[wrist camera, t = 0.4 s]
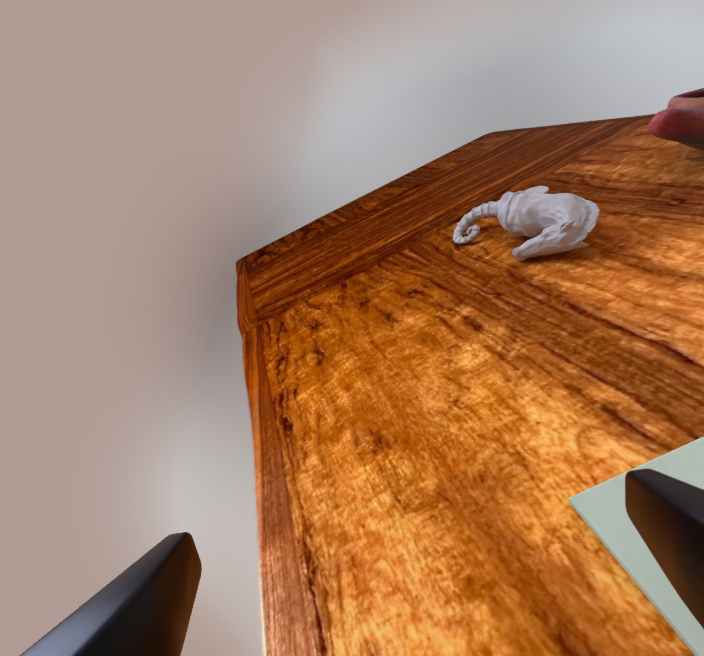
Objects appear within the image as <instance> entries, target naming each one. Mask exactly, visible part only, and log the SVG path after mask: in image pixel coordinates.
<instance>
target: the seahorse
mask: <svg viewBox="0 0 704 656" xmlns="http://www.w3.org/2000/svg"><path fill="white" fill-rule="evenodd" d="M548 190H549V187H545V186H538V187H533V188H530V189H527V190H525V191H518V192H516V193H512V192H507V193H505V194H504V195H503V196H502V198H501V200H499V201H497V202H492V201H490V202H489V203H487V204H485V203H483V204H482V205H481V206H479V207H477V208H473V209H472V211H471V212H469V213H468V214H465V215H464V217H463V218H462V220H461V221H460V222H459V223H457V227H456V229H455V231H454V233H453V240H454V242H455V243H457V244H460V245H461V244H463V243H466V244H467V243H468V242H469V241H471V240H474V239H475V237H476V236H477V235H478V234H480V227H479V226H478V225H474V226H472V223H474V222H478V221H479V220H480V219H481V218H489V217H496V216H498V219H499V221H500V224H501V226H502V227H503V228H504V229H505V230H507V231H508V232H510V233H511V235H512V236H513V237H514V238H518V237H521V236H527V237H533V238H532V239H530V240H527V241H526V242H525V243H524V244H522V245H521V246H520V247H518V248H514V249H513V251H512V253H513V256H514V257H515V258H516V259H518V260H520V261H524V260H525V259H527V258H531V257H535V256H539V255H549V254H552V253H558V252H565V251H570V250H572V249H577V248H581V247H585V246H588V243H584V242H582V241H583V240H584V239H585V238H586V237H587V234H588V233H590V232H591V230H592V229H593V228H594V227H595V225H596V222H597V219H598V217H599V213H600V210H599V208H598V206H597V205H596V204H595V203H593V202H592V201H589V200H588V201H587V200H585V199H583V198H582V197H579V196H576V195H573V194H569V193H564V194H545V193H546V192H547V191H548ZM471 226H472V227H471ZM468 227H470V228H469V229H468V231H467V235H468V236H465V237H463V232H466V230H467V228H468ZM471 231H472V233H471V234H470V232H471Z"/></svg>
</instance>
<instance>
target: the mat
mask: <svg viewBox="0 0 704 656" xmlns="http://www.w3.org/2000/svg"><path fill="white" fill-rule="evenodd" d="M646 468H649V469H653V470H655V471H658V472H660V473H663V474H665V475H668V476H671V477H673V478H676V479H678V480H681V481H683V482H686V483H688V484H691V485H693V486H696V487H698V488H701V489H703V490H704V437H702V438H700V439H697V440H695V441H693V442H691V443H689V444H686V445H684V446H682V447H680V448H678V449H675V450H673V451H671V452H669V453H666V454H664V455H662V456H660V457H658V458H655V459H653V460H651V461H649V462H647V463H644V464H642V465H640V466H638V467H636V468H633V469H631V470H638V469H646ZM631 470H629V471H631ZM629 471H627V472H629ZM627 472H625V473H622V474H620V475H618V476H616V477H613V478H611V479H609V480H607V481H605V482H602V483H600V484H598V485H596V486H594V487H591V488H589V489H587V490H585V491H583V492H580V493H578V494H576V495H574V496H572V497H569V502H570V504H571V505H572V507H573V508H574V509H575V510H576V512H577V513H578V514H579V515H580V516H581V518H582V519H583V520H584V521H585V523H586V524H587V525H588V526H589V527H590V529H591V530H592V531H593V532H594V533H595V535H596V536H597V537H598V538H599V540H600V541H601V542H602V543H603V544H604V546H605V547H606V548H607V549H608V551H609V552H610V553H611V554H612V555H613V557H614V558H615V559H616V560H617V561H618V563H619V564H620V565H621V566H622V568H623V569H624V570H625V571H626V572H627V574H628V575H629V576H630V577H631V579H632V580H633V581H634V582H635V583H636V585H637V586H638V587H639V588H640V589H641V591H642V592H643V593H644V594H645V596H646V597H647V598H648V599H649V600H650V602H651V603H652V604H653V605H654V607H655V608H656V609H657V610H658V611H659V613H660V614H661V615H662V616H663V617H664V619H665V620H666V621H667V622H668V624H669V625H670V626H671V627H672V628H673V630H674V631H675V632H676V633H677V635H678V636H679V637H680V638H681V639H682V641H683V642H684V643H685V644H686V645H687V647H688V648H689V649H690V650H691V652H692V653H693V654H694V655H695V656H704V629H703V628H702V626H701V625H700V624H699V622H698V621H697V620H696V619H695V617H694V616H693V615H692V613H691V612H690V611H689V609H688V608H687V606H686V605H685V604H684V602H683V601H682V600H681V598H680V597H679V595H678V594H677V592H676V591H675V589H674V588H673V586H672V585H671V583H670V582H669V580H668V579H667V577H666V575H665V574H664V572H663V571H662V569H661V567H660V566H659V564H658V563H657V561H656V560H655V558H654V556H653V555H652V553H651V552H650V550H649V549H648V547H647V545H646V544H645V542H644V541H643V539H642V538H641V536H640V534H639V533H638V531H637V530H636V528H635V527H634V525H633V523H632V522H631V520H630V518H629V516H628V514H627V511H626V507H625V476H626V473H627Z"/></svg>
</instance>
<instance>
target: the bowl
mask: <svg viewBox="0 0 704 656" xmlns="http://www.w3.org/2000/svg"><path fill="white" fill-rule="evenodd" d="M648 127H649V131H650V132H651V134H653V135H654V136H656V137H659V138H663V139H667V140H671V141H677V142H679V143H682V144H684V145H687V146H690V147H693V148H696V149H699V150H704V88H703V89H699V90H695V91H691V92H687V93H683V94H680V95H677V96H674V97H673V98H671V100H670V101H669V103H668V107H667V109H666V110H663V111H660V112H658V113H657V114H656V115H655V116H654V118H653V119H652V120H650V122H649V125H648Z"/></svg>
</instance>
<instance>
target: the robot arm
mask: <svg viewBox="0 0 704 656" xmlns="http://www.w3.org/2000/svg"><path fill="white" fill-rule="evenodd" d="M625 507H626V511H627V514H628V516H629V518H630V520H631V522H632V523H633V525H634V527H635V528H636V530H637V531H638V533H639V534H640V536H641V538H642V539H643V541H644V542H645V544H646V545H647V547H648V549H649V550H650V552H651V553H652V555H653V556H654V558H655V560H656V561H657V563H658V564H659V566H660V567H661V569H662V571H663V572H664V574H665V575H666V577H667V579H668V580H669V582H670V583H671V585H672V586H673V588H674V589H675V591H676V592H677V594H678V595H679V597H680V598H681V600H682V601H683V602H684V604H685V605H686V606H687V608H688V609H689V611H690V612H691V613H692V615H693V616H694V617H695V619H696V620H697V621H698V622H699V624H700V625H701V626H702V628H703V629H704V490H703V489H701V488H698V487H696V486H693V485H691V484H688V483H686V482H683V481H681V480H678V479H676V478H673V477H671V476H668V475H665V474H663V473H660V472H658V471H655V470H653V469H649V468H646V469H638V470H631V471H629V472H627V473H626V476H625ZM201 570H202V568H201V561H200V558H199V555H198V552H197V549H196V546H195V544H194V541H193V538H192V536H191V535H190V533H187V532H184V533H176V534H171V535H169V536H167V537H166V538H165V539H163V540H162V541H161V542H160V543H158V544H157V545H156V546H155V547H154V548H152V549H151V550H150V551H148V552H147V553H146V554H145V555H143V556H142V557H141V558H140V559H139V560H137V561H136V562H135V563H134V564H132V565H131V566H130V567H129V568H127V569H126V570H125V571H124V572H123V573H121V574H120V575H119V576H118V577H116V578H115V579H114V580H113V581H111V582H110V583H109V584H108V585H106V586H105V587H104V588H103V589H101V590H100V591H99V592H98V593H96V594H95V595H94V596H93V597H91V598H90V599H89V600H88V601H87V602H85V603H84V604H83V605H82V606H80V607H79V608H78V609H77V610H76V611H74V612H73V613H72V614H70V615H69V616H68V617H67V618H66V619H64V620H63V621H62V622H61V623H59V624H58V625H57V626H56V627H54V628H53V629H52V630H51V631H49V632H48V633H47V634H46V635H44V636H43V637H42V638H41V639H39V640H38V641H37V642H36V643H35V644H33V645H32V646H31V647H30V648H28V649H27V650H26V651H25V652H23V653H22V654H21V655H20V656H180V654H181V651H182V648H183V644H184V640H185V636H186V632H187V628H188V624H189V620H190V616H191V613H192V608H193V605H194V601H195V597H196V593H197V589H198V585H199V581H200V577H201Z"/></svg>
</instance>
